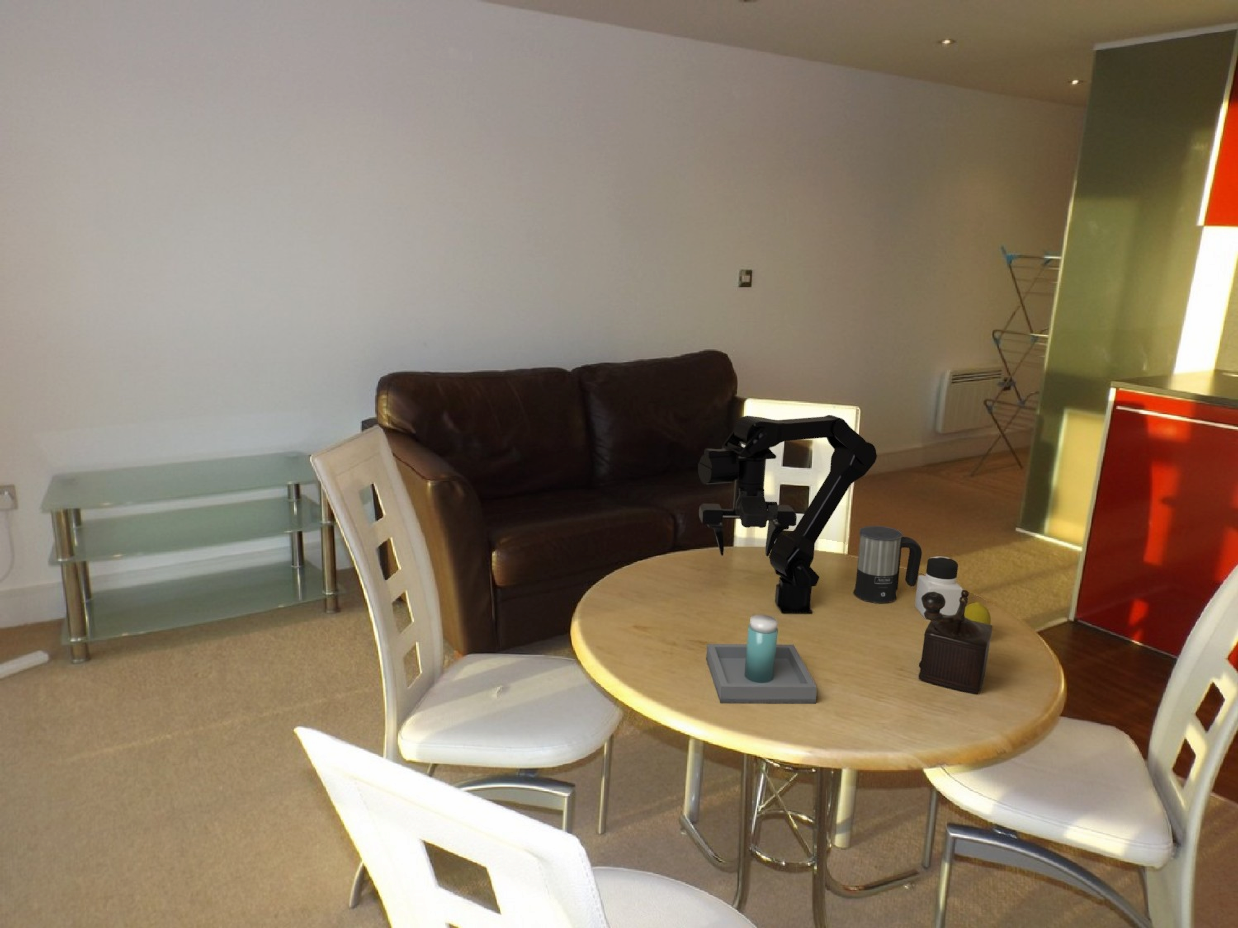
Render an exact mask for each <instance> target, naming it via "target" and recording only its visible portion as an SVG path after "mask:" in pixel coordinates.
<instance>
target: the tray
mask: <svg viewBox="0 0 1238 928" xmlns="http://www.w3.org/2000/svg"><path fill="white" fill-rule="evenodd" d="M746 650H747V643H746V644H744V643H742V644H741V643H739V644H737V643H733V644H732V643H707V644H706V657H705V659H706V663H707V666H708V668H709V674H710V676H711V678H712V681H713V682H712V683H713V684H714V688H715V691H716V694H717V697H718V701H719V703H720V704H801V705H803V704H811V705H812V704H813V705H814V704H816V703H817V692H818V686H817V685H816V682H815V681H814V679H813V677H812V675H811V674H810V672H809V670H808V668H807V666H806V664H805V662H804V661H803V659H802V657H801V655H800V653H799V651H798V649H797V648H796V645H794V644H776V654H775V665H774V675H773V680H772V681H770V682H766V683H758V682H753V681H751V680H749V679H747V678H746V677H745V675H744V672H745V661H746Z"/></svg>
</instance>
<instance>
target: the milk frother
mask: <svg viewBox="0 0 1238 928" xmlns="http://www.w3.org/2000/svg"><path fill="white" fill-rule="evenodd" d="M858 532H859V533H858V534H859V535H860V536H859V545H858V557H857V569H856V577H855V578H856V579H855V583H854V584H855V586H854V589H853V592H852V593H853V595H854V596H855V597H856V598H858V599H860V600H862V601H865V602H868V603H874V604H889V603H893V602H895V601H897V598H898V596H897V590H898V589H899V580H900V579H899V578H900V568H901V557H902V548H904V549H906V548H907V549H908V550H909V551H908V552H909V553H908V559H907V565H906V573H905V583H906V584H907V585H908V586H909V587H915V586H917V583H918V576H919V572H920V566H921V560H922V554H923V552H922V551H923V550H922V548H921V546H920V545H919V543H918V542H917V541H916V540H914V538H912V537H909V536H903V535H904V533H902V532H901V531H900V530H898V529H895V528H892V527H887V526H882V525H868V526H864V527H860V529H859V531H858Z"/></svg>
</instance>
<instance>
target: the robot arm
mask: <svg viewBox="0 0 1238 928" xmlns="http://www.w3.org/2000/svg"><path fill="white" fill-rule="evenodd" d="M823 438H825V439H827V442H828V444H829V445H830V447H832V448H833V449H834V451H833V453H832V454H831V457H830V466H829V468H830V469H829V473H828V474H827V476H826V478H825V479H824V481H823V483H822V484H821V485H820V487H819V489H818V491H817V492H816V494H815V495H814V497H813V499H812V500H811V502H810V504H809V505H808V507H807V509H806V510H805V512H804V513H803V515H802V517H801V518H800V520H799V522H797V519H798V518H797V513H796V511H794V509H793V508H792V507H791V505H789V504H778V501H766V498H765V479H766V478H765V476H766V465H767V464H766V463H767V460H775V459H777V454H775V453H774V452H773V451H772V450H771V448H773V447H777V446H778V445H779V444H781V443H785V442H791V441H801V440H813V439H823ZM740 444H741V445H740ZM743 445H744V446H743ZM877 458H878V455H877V449H876V447H875V445H874V444H873V443H871V442H869V441H867V440H866V439H865V438H863V436H861V435H860V434H859V433H858V432H857V431H855V430H854V429H853V428H852V427H851V426H850V425H849V423H847V422H846V420H845V419H843V418H842V417H839V416H836V415H832V414H827V415H824V416H816V417H815V416H813V417H802V418H789V419H771V418H768V417H767V418H766V417H761V416H755V415H754V416H753V415H745V416H741V417H740V418H739V419H738V420H737V422H736V423H735V425H734V428H733V430H732V431H731V433H730V434H729V436H728V437H727V438H726V439H725V441H724V443H723V444H722V446H721V448H717V449H716V448H705V449H704V453H703V455H701V457H700V460H699V462H698V464H697V473H698V477H699V480H700V482H701V483H702V484H703V485H714V484H715V485H717V484H728V483H733V482H734V495H733V502H732V503H733V505H732V506H733V507H732V508H730V509H729V508H722V507H721V505H720V503H701V505H700V506H699V509H698V516H699V520H700V522H701V524H702V525H707V527H708V528H709V529H712V530H713V531H714V535H715V538H716V542H717V547H718V550H719V552H720V556H724V552H725V551H724V550H725V549H724V547H725V545H724V544H725V543H724V525H723V523H722V522H723V521H724V519H725V520H733V519H734V520H740V524H741V526H742V527H743V528H747V529H749V528H760V529H763V528H766V527H767V533H766V539H765V547H764V548H765V556H766V557H768V558H769V564H770V566H771V567H772V568H773V569H774V573H775V575H776V576H779V578H778V583H777V584H776V585H775V595H774V603H775V604H776V606H777V608H778V609H779V611H780V613H782V614H812V613H813V609H812V608H811V602H812V601H811V600H812V589H813V587H817V584H818V583H819V580H820V576H819V574H818V573H817V572H816V571H815V570H814V569H813V568H812V567H811V565H812V563H813V560H814V559H815V544H816V541H818V539H819V537H820V536H821V534H822V532H823V530H824V529H825V527H826V526H827V524H828V522H829V520H830V519H831V518H832V516H833V514H834V513H835V511H836V510H837V507H838V506H839V504H840V503H841V501H842V500H843V498H844V496H845V494H846V493H847V491H848V490H849V488H850V486H852V484H853V483H854V482H856V481H858V480H859V479H861V478H863V477H864V476H866V475H867V473H868V472H869V470H871V468H872V467H873V465H874V464H875V463H876V461H877ZM767 522H768V524H767ZM795 526H796V527H795ZM790 527H795V528H794V529H793V531H791V532H789V533H787V534H785V533H783V532H784V531H786V530H789V529H790Z"/></svg>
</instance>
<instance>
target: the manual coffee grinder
mask: <svg viewBox="0 0 1238 928" xmlns="http://www.w3.org/2000/svg"><path fill="white" fill-rule="evenodd" d="M969 595H970V593H969V591H968V590H967V589H963V591H962V592H961V596H962V597H960V599H959V602H960V605H959V608H958V610H957V613H956V614H955V615H949V616H948V615H944V614H942V613H940V610H941V609H942V608H943V607H944V606H945V602H946V601H945V598H944V596H943V595H942V594H940V593H937V592H927V593H926V594H924V595H923V596H922V598H921V600H922V604H923V607H924V608H925V609H926V611H925V612H924V616H925V618H926V619H925V618H924V619H925V620H929V623H928V624H927V626H926V628H925V632H924V638H923V644H922V645H923V646H922V651H921V659H920V661H919V663H918V668H919V673H918V680H920V681H922V682H926V683H928V684H930V685H934V686H938V687H942V688H945V689H949V690H954V691H957V692H961V693H965V694H972V695H976V696H977V695H979V694H980V693H981V690H982V688H983V684H984V681H985V676H986V672H987V664H988V657H989V652H990V646H991V645H990V644H991V638H992V631H993V628H994V627H993V625H992V624H990V625H989V624H984V623H980V622H976V621H972V620H970V619H968V618H965V616H964V613H965V607H966V606H967V605H968V604H969Z"/></svg>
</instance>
